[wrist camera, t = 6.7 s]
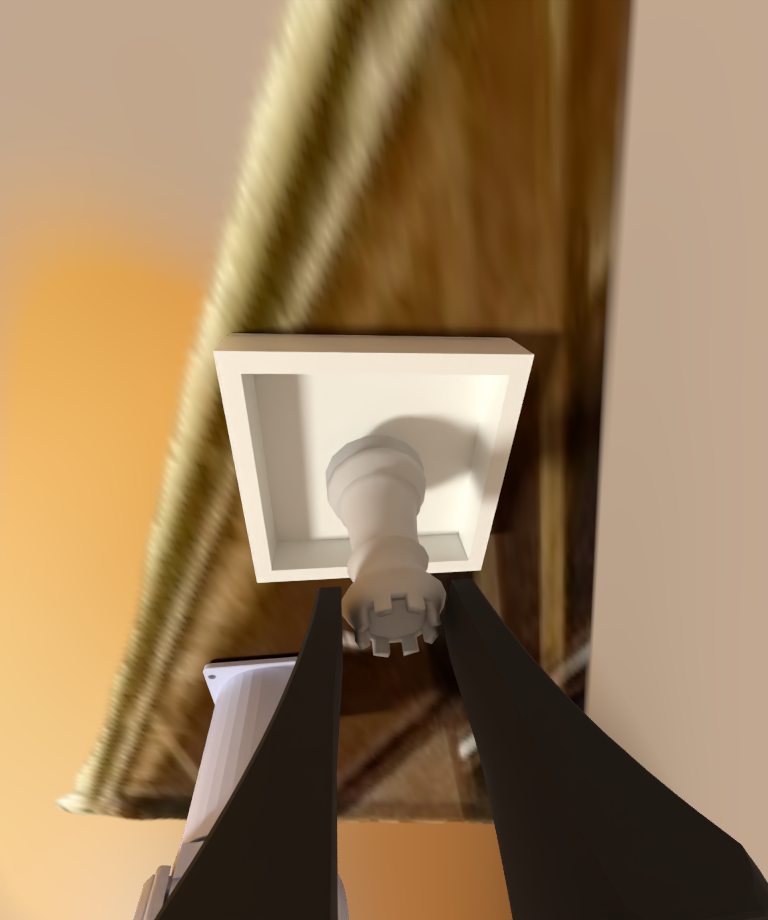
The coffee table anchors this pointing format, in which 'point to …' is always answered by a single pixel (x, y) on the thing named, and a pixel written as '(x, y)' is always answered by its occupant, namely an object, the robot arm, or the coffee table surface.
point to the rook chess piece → (384, 544)
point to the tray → (367, 414)
